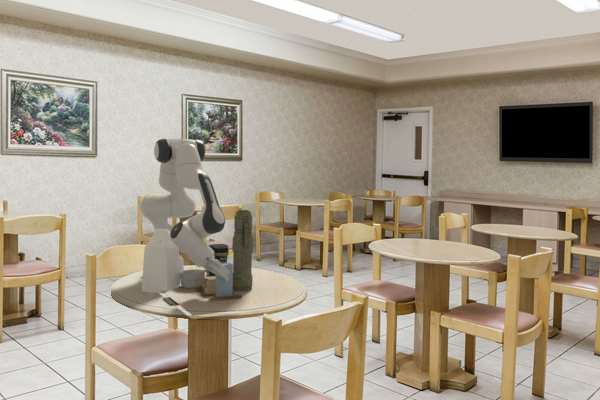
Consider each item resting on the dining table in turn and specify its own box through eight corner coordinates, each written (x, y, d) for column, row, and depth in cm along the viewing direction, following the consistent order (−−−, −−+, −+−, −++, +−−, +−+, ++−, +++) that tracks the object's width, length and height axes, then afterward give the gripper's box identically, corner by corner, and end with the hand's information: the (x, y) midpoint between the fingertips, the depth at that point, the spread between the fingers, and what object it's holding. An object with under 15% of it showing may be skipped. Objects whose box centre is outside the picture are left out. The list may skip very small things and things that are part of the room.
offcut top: (204, 284, 220) (204, 277, 220) (224, 282, 225) (224, 275, 224) (208, 286, 216) (208, 279, 216) (228, 284, 220) (228, 277, 220)
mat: (163, 299, 210) (163, 297, 210) (187, 296, 216) (187, 295, 216) (170, 305, 202) (170, 303, 202) (195, 302, 207) (195, 301, 207)
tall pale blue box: (215, 295, 214) (215, 264, 213) (228, 294, 217) (229, 263, 216) (218, 297, 211) (219, 265, 210) (232, 296, 214) (232, 264, 213)
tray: (195, 293, 220) (195, 288, 220) (224, 290, 227) (224, 285, 227) (211, 304, 205) (211, 298, 205) (241, 300, 212) (241, 295, 212)
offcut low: (202, 291, 220) (202, 284, 220) (225, 289, 225) (225, 282, 225) (207, 294, 216) (207, 287, 216) (229, 291, 221) (229, 284, 221)
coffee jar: (211, 287, 232) (212, 245, 231) (203, 284, 238) (204, 243, 237) (230, 285, 238) (231, 244, 237) (222, 281, 244) (222, 242, 243)
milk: (180, 288, 230) (181, 228, 228) (167, 294, 219) (167, 232, 217) (156, 285, 233) (156, 227, 232) (141, 291, 222) (142, 230, 220)
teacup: (185, 293, 221) (186, 274, 221) (175, 287, 230) (175, 269, 230) (215, 289, 230) (216, 271, 229) (204, 284, 238) (205, 266, 238)
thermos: (237, 295, 220) (238, 212, 217) (227, 289, 230) (229, 209, 228) (256, 293, 224) (258, 211, 222) (246, 287, 234) (248, 209, 232)
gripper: (218, 254, 200) (241, 277, 206) (199, 246, 217) (221, 267, 223) (207, 266, 198) (230, 290, 204) (188, 257, 215) (211, 279, 221)
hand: (225, 278), depth 213 cm, fingers closed on tall pale blue box, 3 cm apart
